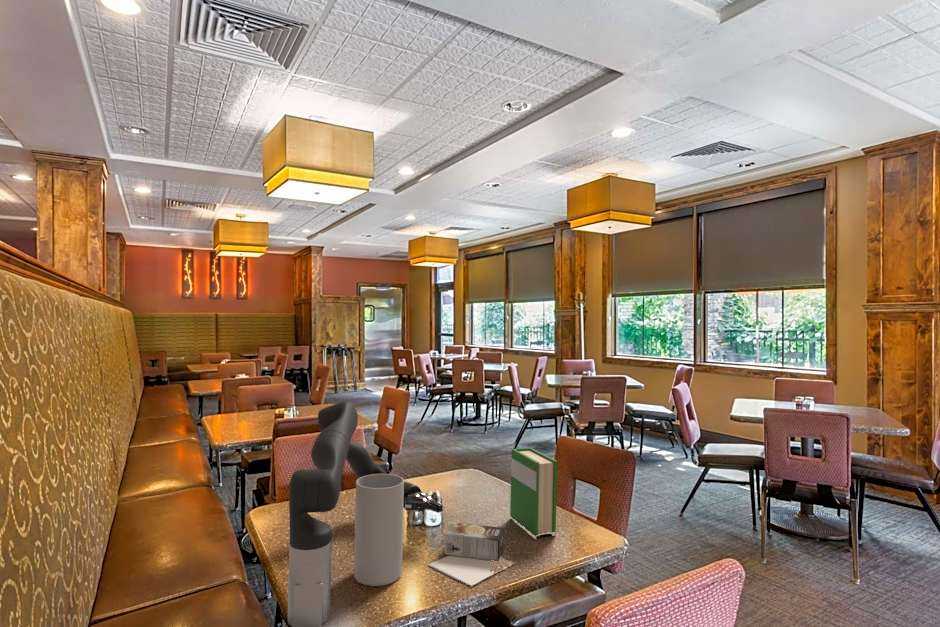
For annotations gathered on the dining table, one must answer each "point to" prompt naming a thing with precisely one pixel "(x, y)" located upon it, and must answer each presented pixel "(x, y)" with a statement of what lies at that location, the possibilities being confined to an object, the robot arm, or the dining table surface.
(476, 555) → the coffee box
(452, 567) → the mat
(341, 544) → the dining table surface
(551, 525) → the hardback book
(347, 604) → the dining table surface
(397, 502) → the cylinder vase
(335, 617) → the dining table surface
